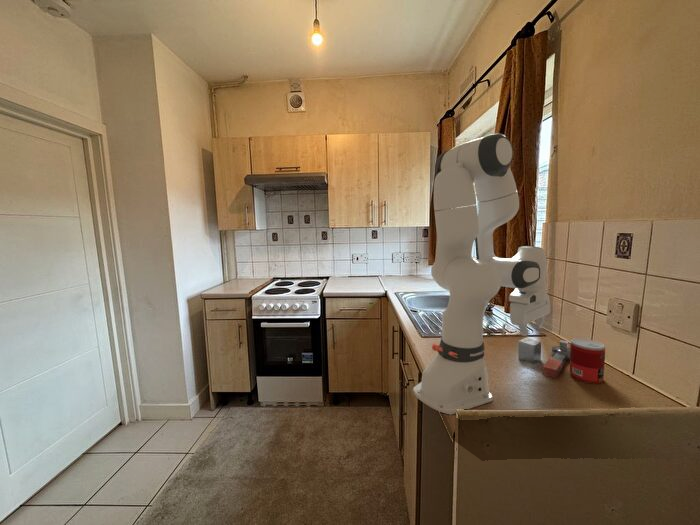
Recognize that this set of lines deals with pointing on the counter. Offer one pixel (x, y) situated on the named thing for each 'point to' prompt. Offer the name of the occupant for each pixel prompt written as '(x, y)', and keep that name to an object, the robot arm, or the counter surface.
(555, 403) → the counter surface
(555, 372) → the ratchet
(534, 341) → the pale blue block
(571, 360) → the canned food
